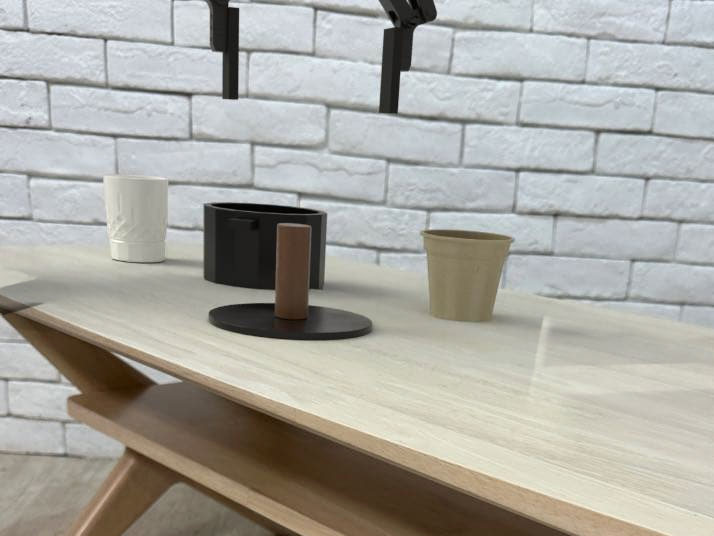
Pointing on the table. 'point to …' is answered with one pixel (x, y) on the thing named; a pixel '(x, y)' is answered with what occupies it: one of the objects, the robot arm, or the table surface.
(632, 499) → the table surface
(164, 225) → the white cup
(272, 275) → the pot
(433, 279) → the flower pot
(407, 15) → the robot arm
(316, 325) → the pot lid
